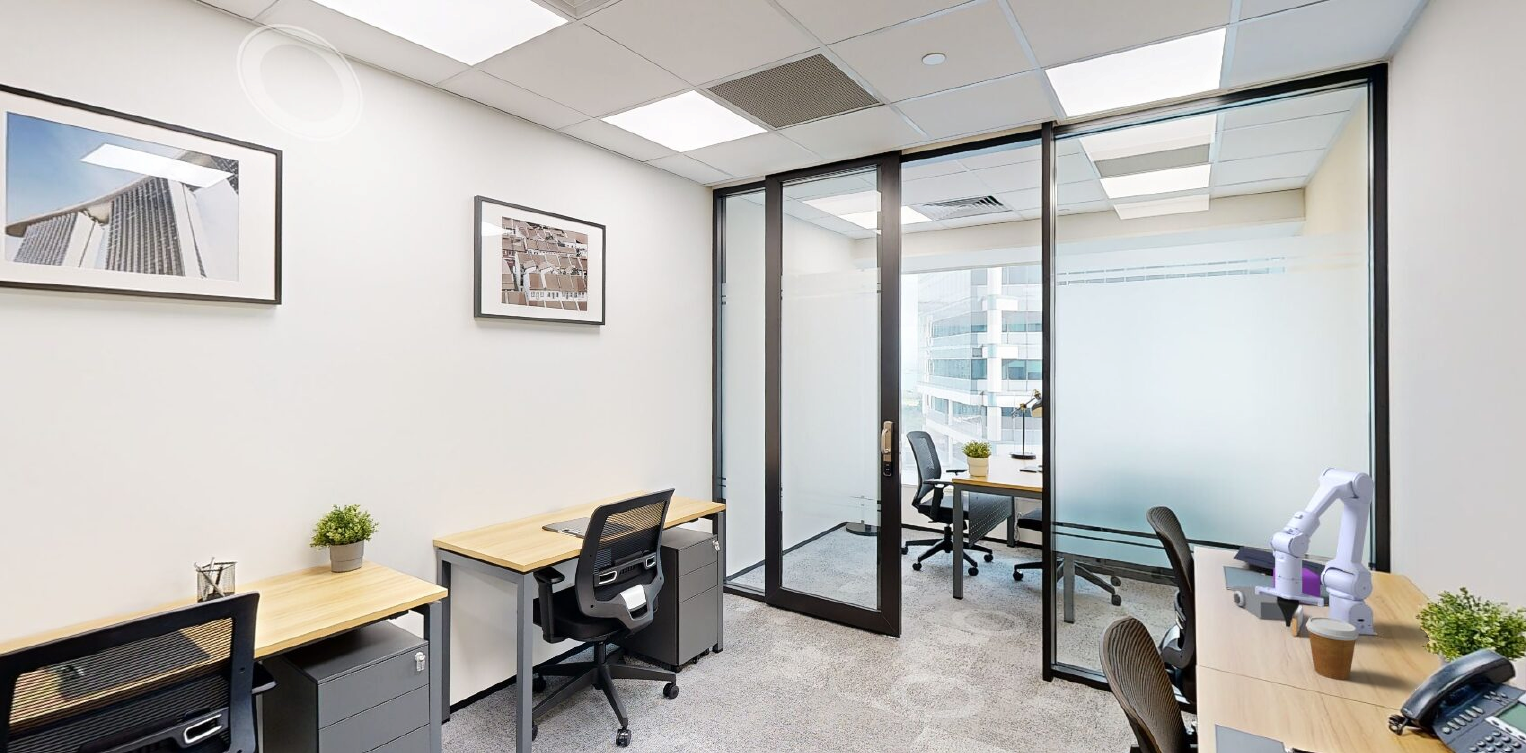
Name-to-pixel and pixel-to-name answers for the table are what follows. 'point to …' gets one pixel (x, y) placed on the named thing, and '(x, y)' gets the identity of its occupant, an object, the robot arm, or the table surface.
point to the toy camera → (1307, 583)
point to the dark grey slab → (1272, 560)
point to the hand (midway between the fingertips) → (1288, 625)
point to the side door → (1297, 621)
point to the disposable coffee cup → (1332, 646)
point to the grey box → (1259, 603)
